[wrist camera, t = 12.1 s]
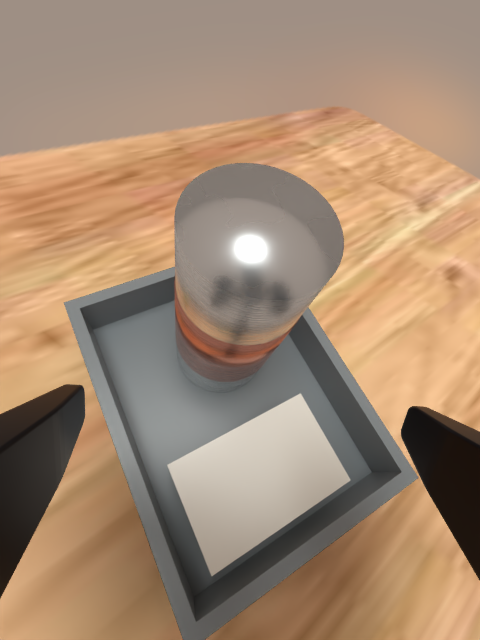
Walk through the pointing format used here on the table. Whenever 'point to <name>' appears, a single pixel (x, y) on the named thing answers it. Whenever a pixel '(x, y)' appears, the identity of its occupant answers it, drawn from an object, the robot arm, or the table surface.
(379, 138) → the table surface
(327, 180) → the table surface
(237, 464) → the white rectangular block
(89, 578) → the table surface
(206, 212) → the steel tin
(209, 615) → the tote
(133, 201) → the table surface
